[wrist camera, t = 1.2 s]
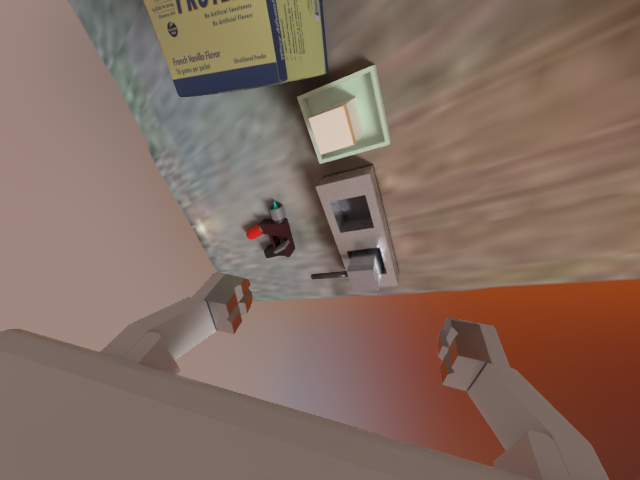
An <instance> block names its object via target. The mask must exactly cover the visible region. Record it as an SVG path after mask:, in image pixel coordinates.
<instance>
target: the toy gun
mask: <svg viewBox="0 0 640 480" xmlns="http://www.w3.org/2000/svg"><path fill="white" fill-rule="evenodd" d="M269 211H270V214H271V217H272V219H263V221H262V222H261V223H260V224H257V225H256V226H254V227H252V228H251V229H249V230H248V231H247V233H246V236H247V237H248V238H249V239H255V238H257V237H258V236H260V235H262V234H270V238H271V241H272V245H268V246H267V247H266V249H265V250H264V253H265V256H266V258H271V257H275V256H286V257H290V255H291V254H292V253H293V251H294V249H295V245H294V242H293V238H292V235H291V231H290V227H289V223H288V220H287V219H285V212H284V209H283V205H281V207H280V208H279V207H278V206H277V205H276V203H275V202H274V205H272V206H270V207H269ZM278 236H280V239H281V241H279V238H278Z"/></svg>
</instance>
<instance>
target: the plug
mask: <svg viewBox="0 0 640 480" xmlns="http://www.w3.org/2000/svg"><path fill="white" fill-rule="evenodd" d="M308 119H309V122H310V125H311V128H312V131H313V134H314V137H315V140H316V143H317V146H318V149H319V152H320V155H322V154H325V153H329V152H332V151H336V150H339V149H342V148H346V147H349V146H352V145H355V143H356V141H357V139H358V138H359V136H360V135H361V133H362V132H363V130H364V128H363V124H362V120H361V115H360V111H359V107H358V103H357V99H356V97H355V98H352V99H350V100H347V101H344V102H342V103H339V104H336V105H334V106H331V107H328V108H326V109H324V110H323V111H321V112H319V113H317V114H316V115H313V116H311V117H309V118H308Z"/></svg>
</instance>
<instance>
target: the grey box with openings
mask: <svg viewBox="0 0 640 480" xmlns="http://www.w3.org/2000/svg"><path fill="white" fill-rule="evenodd" d="M316 190H317V193H318V195H319V198H320V201H321V203H322V206H323V209H324V212H325V214H326V217H327V220H328V223H329V225H330V228H331V231H332V233H333V236H334V239H335V242H336V244H337V247H338V250H339V253H340V255H341V258H342V261H343V263H344V266H345V269H346V271H342V272H330V273H319V274H312V275H311V278H312V279H324V278H337V277H349V280H350V282H351V285H352V288H353V291H371V290H380V287H387V286H398V278H399V269H398V265H397V261H396V257H395V252H394V248H393V244H392V240H391V236H390V232H389V228H388V224H387V220H386V215H385V211H384V207H383V203H382V199H381V195H380V191H379V187H378V182H377V178H376V174H375V170H374V166H373V164H372V165H368V166H364V167H360V168H356V169H352V170H348V171H344V172H340V173H336V174H332V175H329V176H325V177H322V179H321V180H320V181H319V183H318V184H317V185H316Z"/></svg>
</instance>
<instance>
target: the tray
mask: <svg viewBox="0 0 640 480" xmlns="http://www.w3.org/2000/svg"><path fill="white" fill-rule="evenodd" d="M355 97H356V99H357V103H358V107H359V111H360V115H361V120H362V124H363V128H364V130H363V132H362V133H361V135H360V136H359V138H358V139H357V141H356V143H355V145H352V146H349V147H346V148H342V149H339V150H336V151H332V152H329V153H325V154H322V155H320V152H319V149H318V146H317V143H316V140H315V137H314V134H313V131H312V128H311V125H310V122H309V119H308V118H309V117H311V116H313V115H316V114H317V113H319V112H321V111H323V110H324V109H326V108H328V107H331V106H334V105H336V104H339V103H342V102H344V101H347V100H350V99H352V98H355ZM297 99H298V102H299V105H300V108H301V111H302V114H303V117H304V120H305V123H306V125H307V128H308V131H309V134H310V137H311V140H312V143H313V146H314V149H315V152H316V155H317V158H318V160H319V163H320V164H322V163H326V162H329V161H333V160H336V159H340V158H343V157H347V156H351V155H354V154H358V153H361V152H365V151H368V150H372V149H376V148H379V147H383V146H386V145H390V141H391V140H390V135H389V130H388V125H387V120H386V115H385V110H384V105H383V100H382V95H381V90H380V85H379V80H378V75H377V70H376V65H372V66H370V67H367V68H365V69H363V70H360V71H358V72H355V73H353V74H351V75H348V76H346V77H343V78H341V79H339V80H336V81H334V82H331V83H329V84H327V85H324V86H322V87H319V88H317V89H315V90H312V91H310V92H307V93H305V94H303V95H300V96H298V97H297Z"/></svg>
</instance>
